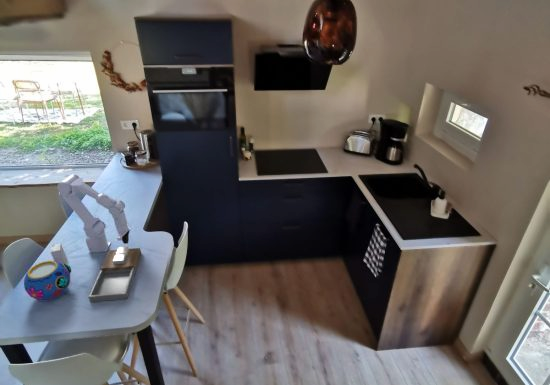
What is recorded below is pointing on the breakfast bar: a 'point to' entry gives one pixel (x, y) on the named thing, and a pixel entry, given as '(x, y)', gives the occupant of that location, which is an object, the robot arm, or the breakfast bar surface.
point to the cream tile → (122, 250)
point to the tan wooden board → (129, 263)
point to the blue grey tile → (119, 258)
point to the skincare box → (59, 254)
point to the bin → (112, 285)
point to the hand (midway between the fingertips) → (126, 242)
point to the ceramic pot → (47, 280)
